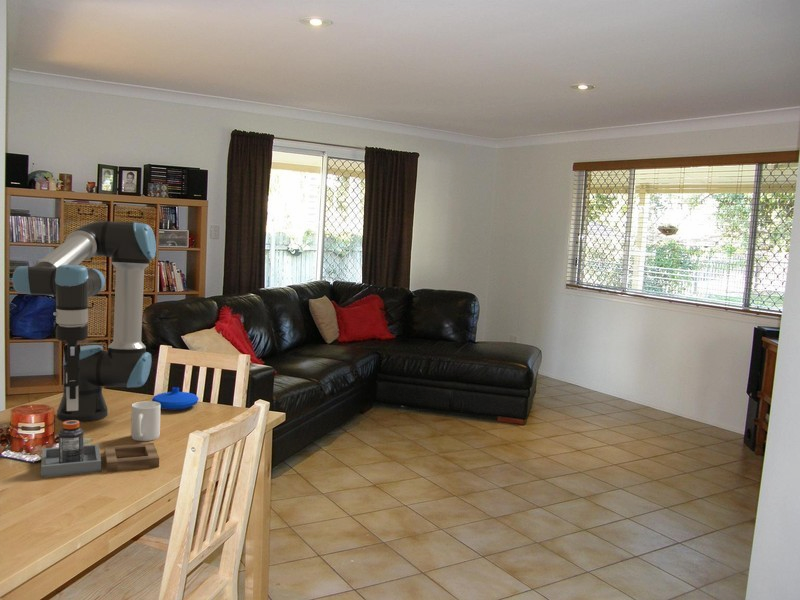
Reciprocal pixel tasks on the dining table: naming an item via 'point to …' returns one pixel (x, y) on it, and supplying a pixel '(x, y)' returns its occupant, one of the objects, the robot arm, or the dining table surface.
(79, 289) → the robot arm
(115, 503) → the dining table surface
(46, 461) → the tray
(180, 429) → the dining table surface
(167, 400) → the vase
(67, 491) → the dining table surface
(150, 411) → the mug
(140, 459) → the socket frame
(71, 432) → the pill bottle
